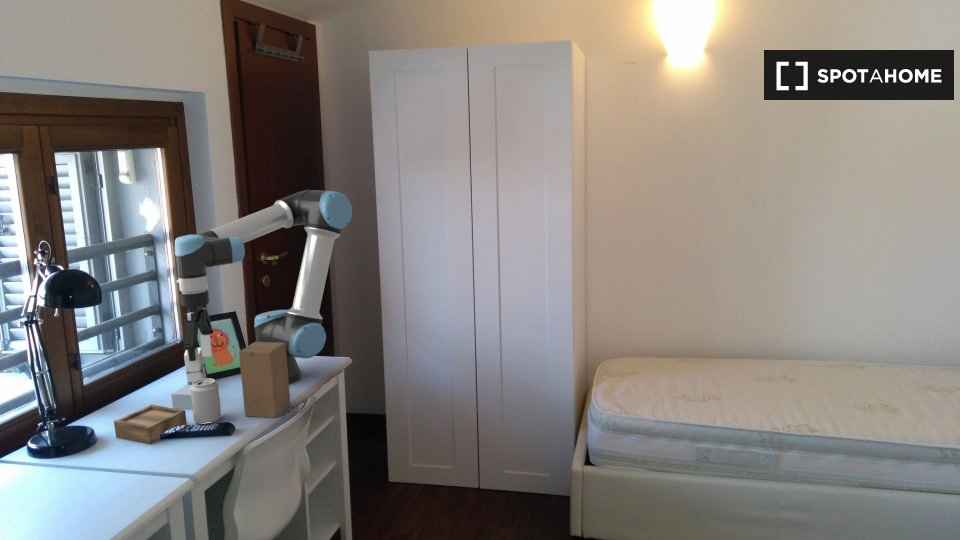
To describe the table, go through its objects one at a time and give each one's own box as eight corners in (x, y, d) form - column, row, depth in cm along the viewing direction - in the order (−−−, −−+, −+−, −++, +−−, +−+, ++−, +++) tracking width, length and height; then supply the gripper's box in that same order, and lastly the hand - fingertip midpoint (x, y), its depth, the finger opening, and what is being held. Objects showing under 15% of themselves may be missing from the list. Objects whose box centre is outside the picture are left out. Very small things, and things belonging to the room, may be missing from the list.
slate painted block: (188, 400, 235) (186, 384, 234) (211, 401, 233) (209, 385, 232) (173, 409, 227) (171, 394, 226) (197, 410, 226) (195, 395, 225)
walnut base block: (153, 420, 219) (151, 404, 218) (187, 426, 214) (185, 410, 213) (116, 437, 207) (113, 421, 206) (150, 444, 202) (148, 427, 201)
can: (203, 414, 222) (199, 376, 219) (226, 416, 220) (222, 377, 218) (188, 424, 215) (184, 385, 212) (212, 426, 213) (208, 386, 211)
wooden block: (276, 418, 217) (270, 352, 213) (244, 416, 219) (238, 351, 215) (291, 405, 227) (285, 342, 223) (260, 404, 229) (255, 341, 225)
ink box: (203, 388, 244) (199, 354, 242) (187, 390, 243) (183, 355, 241) (206, 380, 252) (202, 346, 250) (190, 381, 251) (186, 348, 249)
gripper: (192, 282, 222) (199, 351, 226) (166, 301, 197) (174, 378, 201) (218, 281, 222) (224, 350, 226) (195, 300, 198) (203, 377, 202)
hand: (201, 363), depth 214 cm, fingers open, 13 cm apart
